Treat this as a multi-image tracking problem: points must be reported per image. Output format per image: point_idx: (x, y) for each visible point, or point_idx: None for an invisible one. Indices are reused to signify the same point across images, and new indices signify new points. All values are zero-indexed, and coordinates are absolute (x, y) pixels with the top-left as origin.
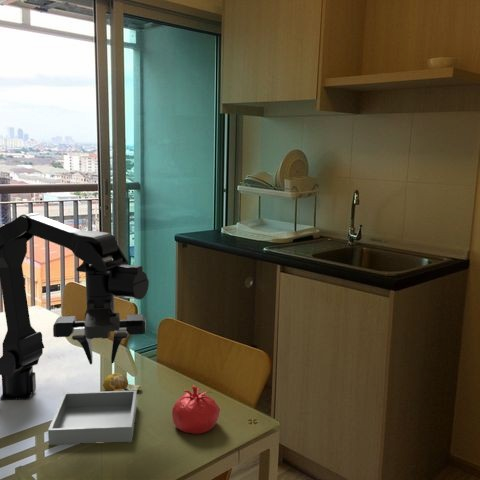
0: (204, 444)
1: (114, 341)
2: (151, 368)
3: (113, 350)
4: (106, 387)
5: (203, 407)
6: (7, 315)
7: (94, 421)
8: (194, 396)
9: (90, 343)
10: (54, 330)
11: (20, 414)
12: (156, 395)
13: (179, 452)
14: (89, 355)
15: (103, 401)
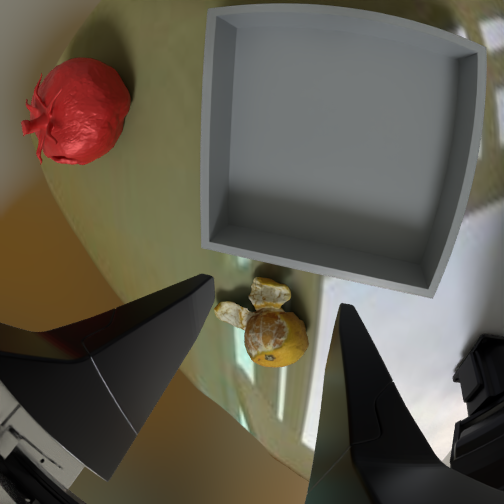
0: (96, 45)
1: (63, 354)
2: (206, 376)
3: (139, 316)
4: (300, 327)
5: (43, 81)
6: None
7: (346, 148)
8: (43, 115)
9: (319, 452)
10: None
11: None
12: (183, 270)
13: (136, 10)
14: (353, 345)
15: (313, 247)
